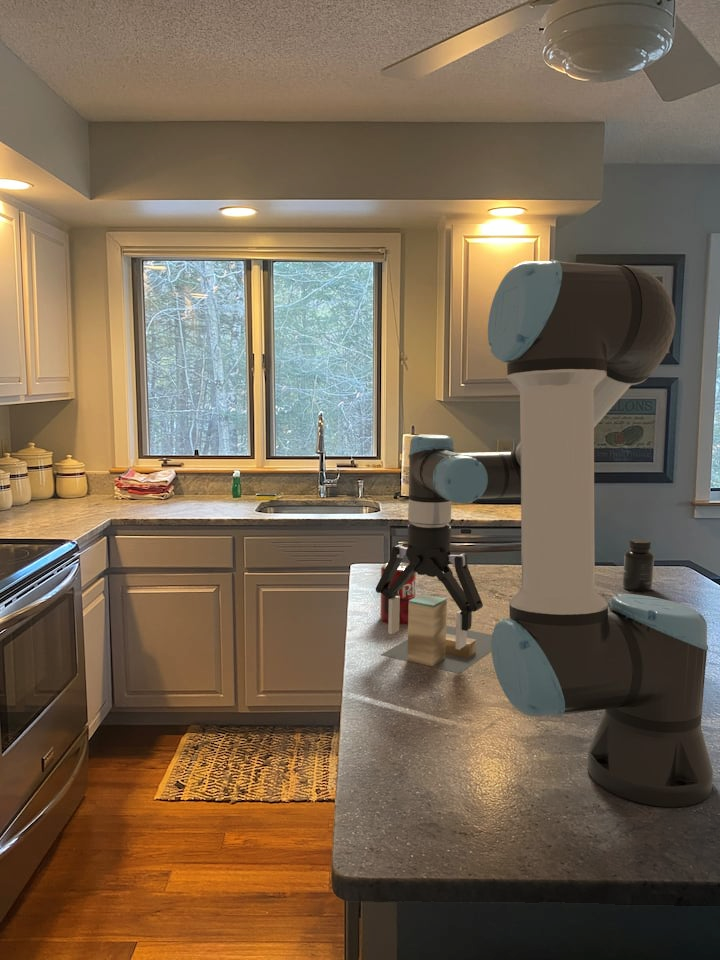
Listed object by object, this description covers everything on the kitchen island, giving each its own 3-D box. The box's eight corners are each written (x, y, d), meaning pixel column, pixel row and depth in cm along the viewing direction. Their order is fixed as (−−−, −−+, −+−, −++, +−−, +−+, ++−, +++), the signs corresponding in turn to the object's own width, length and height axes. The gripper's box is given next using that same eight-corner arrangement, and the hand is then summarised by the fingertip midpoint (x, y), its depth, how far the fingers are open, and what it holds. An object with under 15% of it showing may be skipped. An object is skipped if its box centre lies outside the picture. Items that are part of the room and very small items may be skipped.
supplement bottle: (616, 586, 194) (619, 538, 192) (637, 583, 196) (640, 536, 195) (637, 593, 187) (639, 544, 186) (658, 590, 190) (661, 542, 189)
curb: (468, 657, 142) (469, 644, 142) (410, 644, 149) (411, 632, 148) (475, 652, 145) (476, 639, 144) (418, 640, 151) (418, 627, 151)
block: (432, 666, 138) (433, 605, 136) (407, 660, 140) (408, 600, 139) (445, 657, 142) (446, 598, 140) (420, 652, 145) (422, 594, 143)
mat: (459, 676, 135) (460, 673, 135) (380, 657, 143) (380, 654, 143) (509, 641, 153) (509, 638, 153) (436, 626, 162) (436, 623, 161)
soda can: (374, 624, 163) (375, 567, 161) (389, 614, 169) (390, 560, 167) (406, 629, 159) (407, 572, 158) (420, 620, 166) (421, 564, 164)
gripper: (504, 528, 134) (499, 647, 137) (380, 512, 148) (378, 620, 151) (486, 535, 128) (481, 660, 131) (358, 518, 141) (356, 631, 144)
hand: (426, 639), depth 141 cm, fingers open, 13 cm apart
